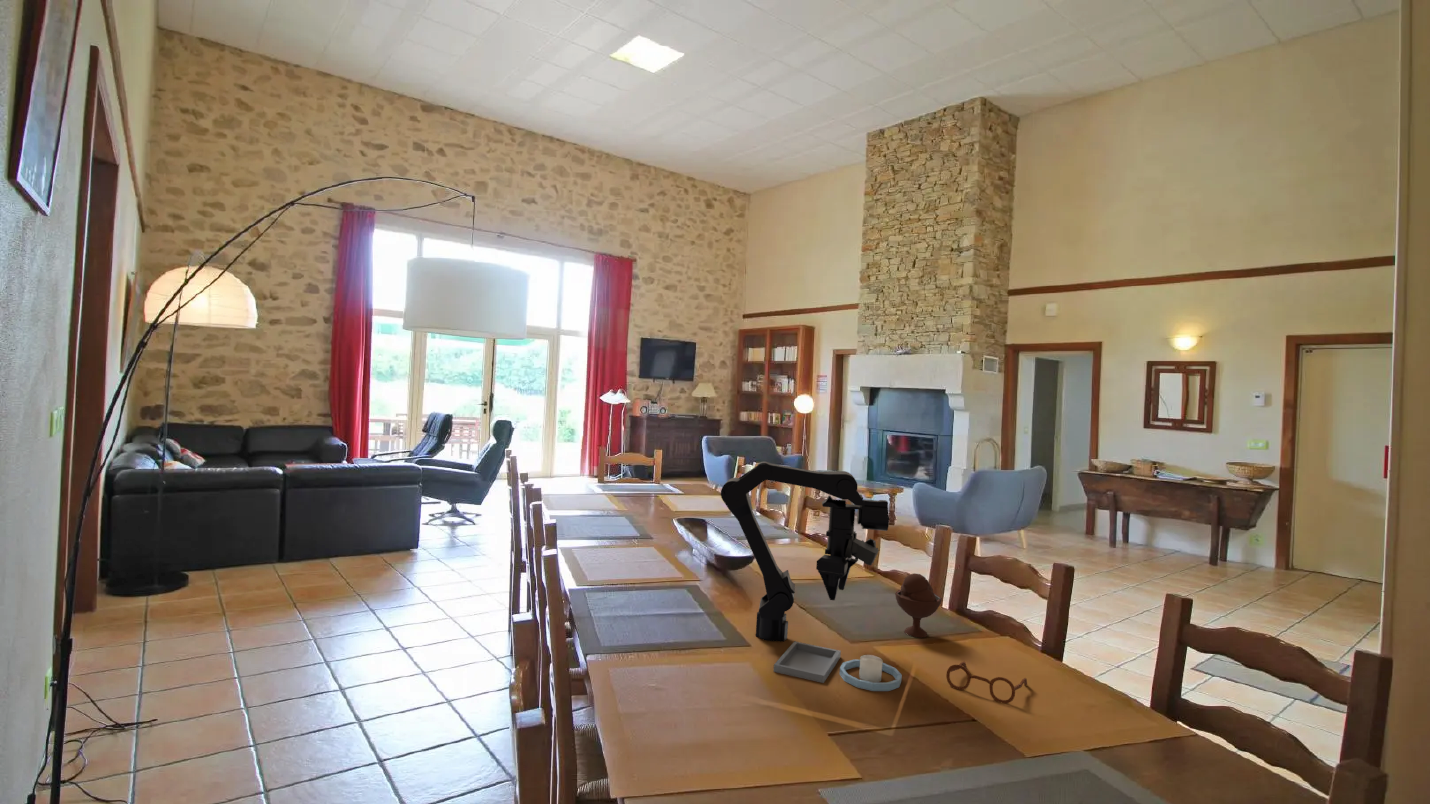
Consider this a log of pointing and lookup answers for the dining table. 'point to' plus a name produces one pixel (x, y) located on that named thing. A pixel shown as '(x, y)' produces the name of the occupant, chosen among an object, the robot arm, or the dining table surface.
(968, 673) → the glasses
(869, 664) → the white marshmallow
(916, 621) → the ice cream bowl
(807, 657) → the parts tray
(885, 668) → the blue ring
